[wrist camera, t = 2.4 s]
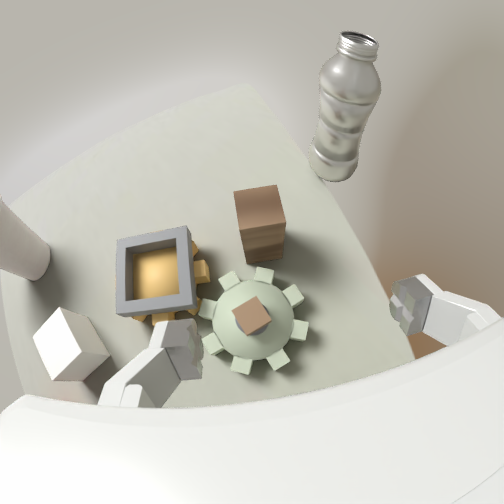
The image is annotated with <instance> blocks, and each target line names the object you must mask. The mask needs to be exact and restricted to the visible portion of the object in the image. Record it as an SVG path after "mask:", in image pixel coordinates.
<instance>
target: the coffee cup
mask: <svg viewBox="0 0 504 504" xmlns="http://www.w3.org/2000/svg"><path fill="white" fill-rule="evenodd" d="M49 262H50V248H49V246H48V244H47V243H45V242H44V241H43V240H42V239H41V238H40V237H39V236H38V235H36V234H35V233H34V232H33V231H32V230H31V229H30V228H29V227H28V226H27V225H26V224H25V223H24V222H22V221H21V220H20V219H19V218H18V217H17V216H16V215H15V214H14V213H13V212H12V211H11V210H10V209H9V208H8V207H7V206H6V204H5V203H4V202H3V201H2V197H1V195H0V269H3V270H5V271H8V272H10V273H13V274H16V275H18V276H21V277H23V278H26V279H29V280H32V281H36V280H38V279H40V278H41V277H42V276H43V275H44V273H45V272H46V270H47V268H48V265H49Z"/></svg>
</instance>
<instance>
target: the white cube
mask: <svg viewBox="0 0 504 504" xmlns="http://www.w3.org/2000/svg"><path fill="white" fill-rule="evenodd" d="M33 339H34V342H35V344H36V347H37V349H38V351H39V354H40V356H41V358H42V360H43V362H44V365H45V367H46V369H47V371H48V373H49V375H50V377H51V379H52V381H83V380H84V379H85V378H86V377H87V376H89V375H90V374H91V373H92V372H93V371H94V370H95V369H96V368H97V367H98V366H100V365H101V364H102V363H103V362H104V361H105V360H106V359H107V358H108V357H109V356H111V355H110V354H109V352H108V351H107V349H106V347H105V346H104V344H103V343H102V341H101V339H100V338H99V336H98V334H97V332H96V331H95V329H94V327H93V325H92V324H91V322H90V320H89V318H88V317H86V316H83V315H80V314H77V313H75V312H72V311H69V310H66V309H64V308H61V307H59V308H58V309H57V310H56V311H55V312H54V313H53V314H52V315H51V316H50V318H49V319H48V320H47V321H46V322H45V323H44V324H43V325H42V326H41V328H40V329H39V330H38V331H37V332H36V333H35V335H34V336H33Z"/></svg>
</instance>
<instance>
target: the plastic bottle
mask: <svg viewBox="0 0 504 504" xmlns="http://www.w3.org/2000/svg"><path fill="white" fill-rule="evenodd" d="M378 46H379V44H378V42H377V41H376V40H375V39H374V38H372V37H370V36H368V35H365V34H363V33H359V32H354V31H342V32H340V34H339V41H338V43H337V47H336V48H337V51H338V53H337V54H336V55H334V56H333V57H332V58H330V59H329V60H328V61H327V62H326V63H325V64H324V65H323V66H322V68H321V70H320V72H319V92H320V110H319V121H318V125H317V129H316V133H315V136H314V138H313V140H312V143H311V145H310V149H309V163H310V166H311V168H312V169H313V170H314V172H315V173H316V174H317V175H318V176H319V177H321V178H322V179H325V180H327V181H330V182H340V181H344V180H346V179H348V178H349V177H350V176H351V175H352V174H353V172H354V171H355V169H356V167H357V164H358V156H359V147H360V142H361V138H362V133H363V131H364V128H365V126H366V123H367V120H368V118H369V116H370V114H371V112H372V110H373V108H374V106H375V105H376V103H377V101H378V99H379V96H380V94H381V82H380V78H379V76H378V73H377V71H376V69H375V67H374V65H373V62H374V61H376V59H377V50H378Z"/></svg>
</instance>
